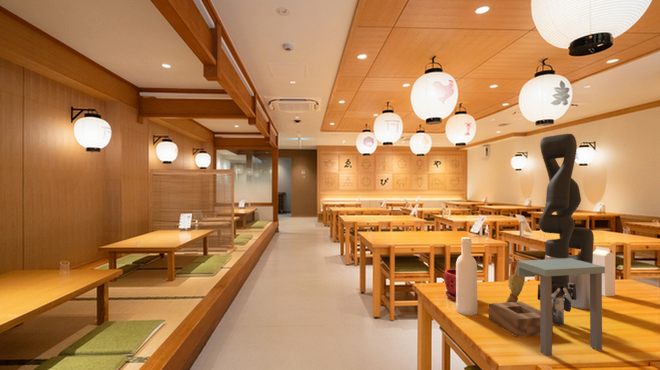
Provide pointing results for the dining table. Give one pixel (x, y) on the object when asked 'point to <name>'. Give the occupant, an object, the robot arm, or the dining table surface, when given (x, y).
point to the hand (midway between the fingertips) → (557, 311)
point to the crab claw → (515, 283)
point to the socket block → (516, 318)
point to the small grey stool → (546, 271)
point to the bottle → (466, 280)
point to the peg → (558, 310)
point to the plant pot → (450, 283)
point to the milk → (606, 269)
